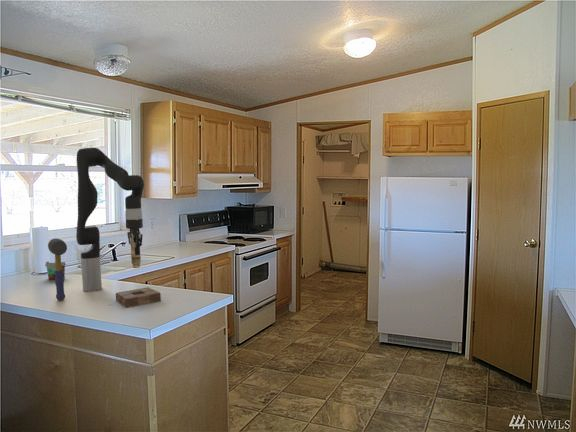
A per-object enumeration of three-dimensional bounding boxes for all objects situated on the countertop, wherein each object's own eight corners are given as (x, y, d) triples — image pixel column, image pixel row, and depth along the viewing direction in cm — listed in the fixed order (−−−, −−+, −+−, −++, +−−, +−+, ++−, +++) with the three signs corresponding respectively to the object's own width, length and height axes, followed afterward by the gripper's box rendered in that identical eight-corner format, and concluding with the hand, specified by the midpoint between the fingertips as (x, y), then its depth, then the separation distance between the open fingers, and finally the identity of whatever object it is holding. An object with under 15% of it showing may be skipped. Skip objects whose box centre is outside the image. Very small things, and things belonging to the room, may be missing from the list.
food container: (41, 280, 274) (39, 263, 273) (48, 277, 280) (47, 261, 279) (59, 280, 271) (58, 263, 270) (66, 278, 277) (65, 261, 276)
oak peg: (130, 267, 222) (128, 237, 221) (139, 266, 225) (137, 237, 223) (133, 268, 219) (132, 238, 218) (142, 267, 221) (140, 237, 220)
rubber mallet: (50, 298, 231) (46, 238, 228) (67, 296, 235) (63, 236, 232) (54, 304, 221) (49, 241, 218) (71, 301, 225) (67, 239, 222)
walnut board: (116, 301, 224) (115, 292, 224) (148, 295, 234) (148, 287, 234) (127, 307, 212) (126, 299, 212) (160, 301, 222) (160, 292, 222)
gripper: (120, 217, 223) (122, 253, 224) (131, 219, 212) (133, 257, 213) (136, 216, 228) (138, 251, 229) (147, 218, 216) (149, 255, 218)
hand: (135, 254), depth 221 cm, fingers closed on oak peg, 4 cm apart
